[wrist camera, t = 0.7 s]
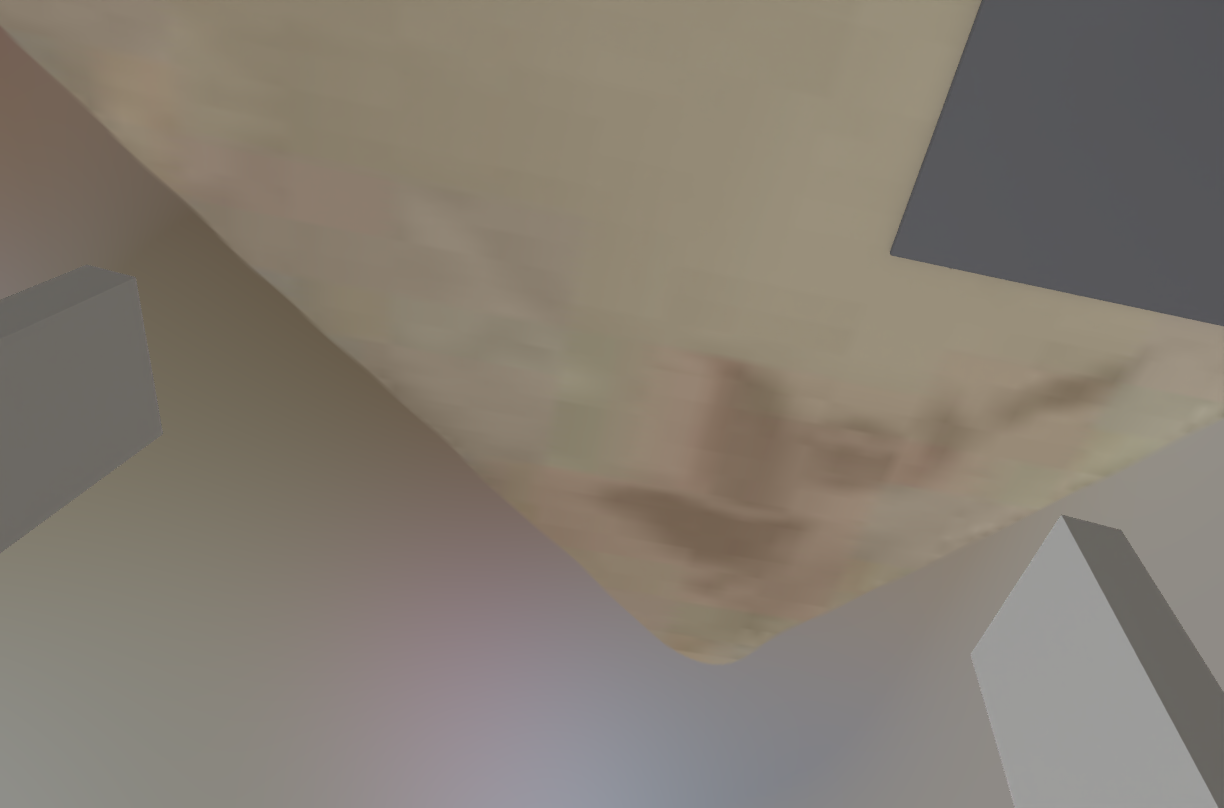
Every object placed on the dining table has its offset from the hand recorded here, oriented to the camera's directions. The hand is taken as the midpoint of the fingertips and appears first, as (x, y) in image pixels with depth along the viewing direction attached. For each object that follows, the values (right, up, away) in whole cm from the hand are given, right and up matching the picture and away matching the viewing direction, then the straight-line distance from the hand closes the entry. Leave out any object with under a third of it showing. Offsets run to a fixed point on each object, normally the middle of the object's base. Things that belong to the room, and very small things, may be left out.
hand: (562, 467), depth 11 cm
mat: (+23, +12, +20) cm, 33 cm away
